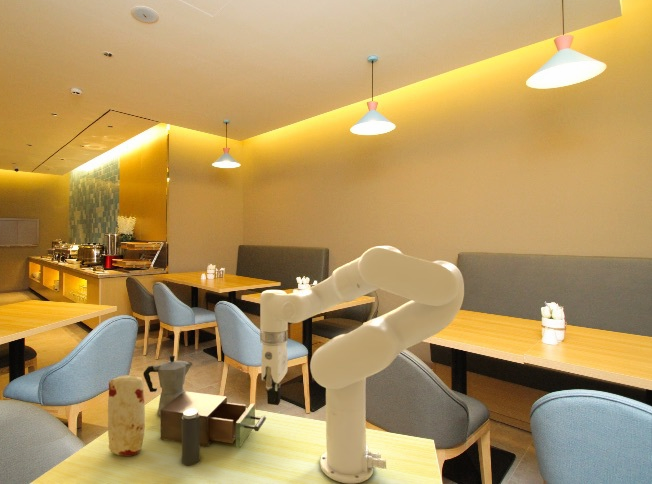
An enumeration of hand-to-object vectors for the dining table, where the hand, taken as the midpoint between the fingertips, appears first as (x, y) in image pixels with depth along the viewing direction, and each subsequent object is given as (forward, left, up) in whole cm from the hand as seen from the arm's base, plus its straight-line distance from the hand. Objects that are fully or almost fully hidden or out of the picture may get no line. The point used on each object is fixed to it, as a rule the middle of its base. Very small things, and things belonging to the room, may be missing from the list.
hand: (273, 403), depth 96 cm
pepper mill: (+18, +13, -11) cm, 25 cm away
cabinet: (+24, 0, -11) cm, 26 cm away
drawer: (+12, 0, -10) cm, 16 cm away
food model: (+36, +14, -11) cm, 40 cm away
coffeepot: (+38, -8, -11) cm, 40 cm away
